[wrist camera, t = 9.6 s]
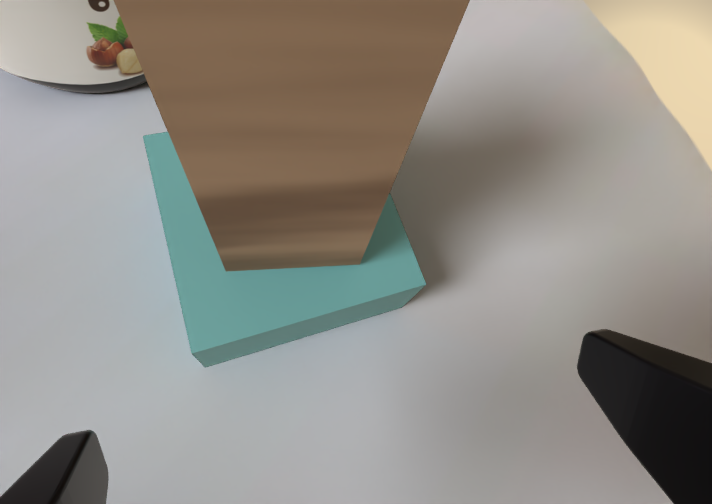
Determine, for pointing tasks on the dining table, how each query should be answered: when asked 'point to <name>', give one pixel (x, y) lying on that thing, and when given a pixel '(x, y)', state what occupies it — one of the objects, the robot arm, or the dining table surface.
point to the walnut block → (291, 113)
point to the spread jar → (68, 45)
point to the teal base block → (270, 277)
